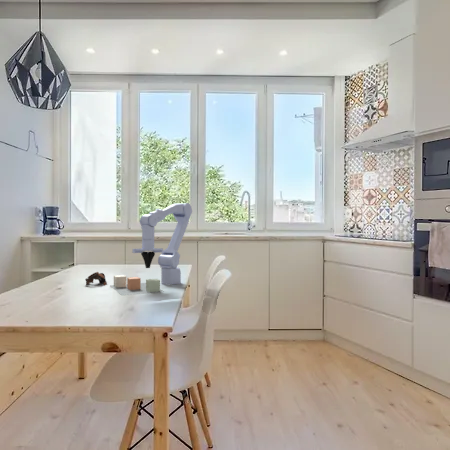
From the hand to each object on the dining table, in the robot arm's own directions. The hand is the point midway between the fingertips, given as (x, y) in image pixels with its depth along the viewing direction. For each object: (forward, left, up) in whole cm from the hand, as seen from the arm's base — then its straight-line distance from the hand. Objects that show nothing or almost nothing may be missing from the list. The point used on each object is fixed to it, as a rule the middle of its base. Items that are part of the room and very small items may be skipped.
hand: (147, 267), depth 179 cm
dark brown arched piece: (+20, -21, -11) cm, 30 cm away
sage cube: (0, +9, -9) cm, 13 cm away
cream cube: (+11, -9, -9) cm, 17 cm away
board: (+6, 0, -10) cm, 12 cm away
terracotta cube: (+7, 0, -9) cm, 11 cm away
